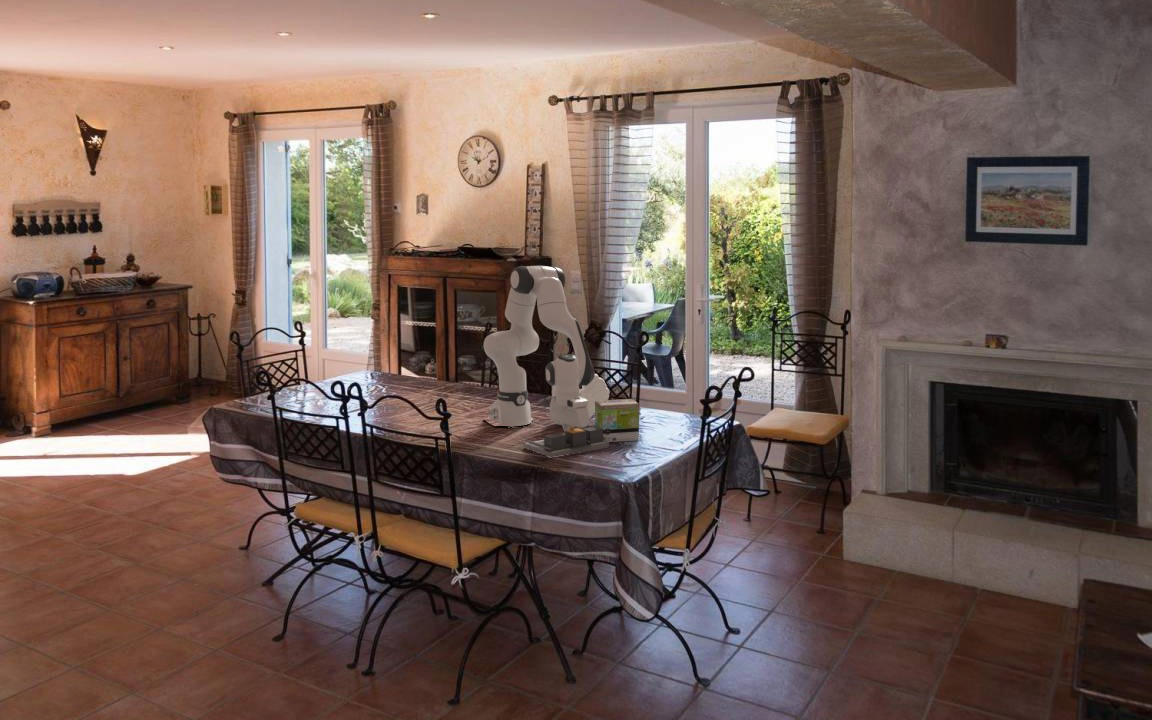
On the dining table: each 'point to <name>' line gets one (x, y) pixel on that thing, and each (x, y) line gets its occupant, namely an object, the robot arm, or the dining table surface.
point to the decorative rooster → (591, 394)
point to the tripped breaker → (576, 438)
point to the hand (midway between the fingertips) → (568, 435)
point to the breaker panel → (558, 445)
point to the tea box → (618, 419)
